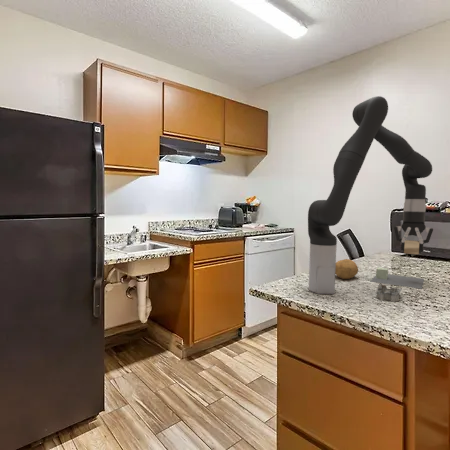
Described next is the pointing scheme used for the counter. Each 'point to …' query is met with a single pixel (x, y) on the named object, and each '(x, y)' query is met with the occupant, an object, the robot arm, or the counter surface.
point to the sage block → (382, 273)
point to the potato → (346, 269)
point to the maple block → (411, 247)
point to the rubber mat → (401, 281)
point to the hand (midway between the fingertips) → (411, 252)
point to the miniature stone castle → (388, 293)
